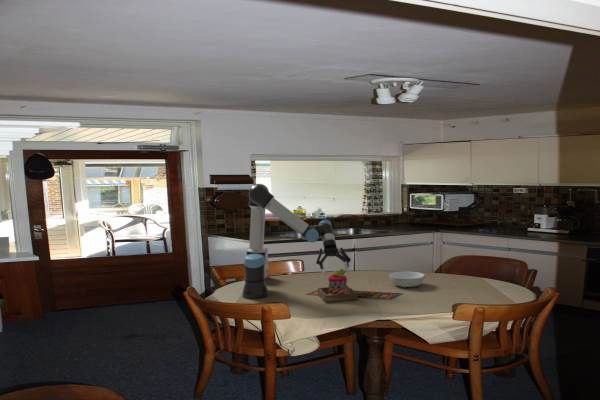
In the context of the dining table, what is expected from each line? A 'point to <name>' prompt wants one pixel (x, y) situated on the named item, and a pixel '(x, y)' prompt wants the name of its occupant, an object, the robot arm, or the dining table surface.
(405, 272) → the serving bowl
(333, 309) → the dining table surface
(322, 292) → the box
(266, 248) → the cracker box
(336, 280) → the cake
